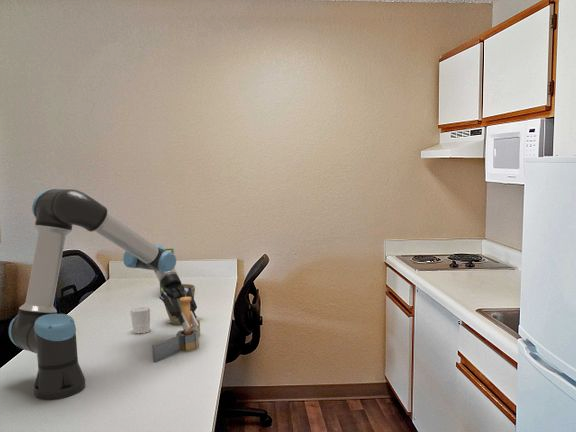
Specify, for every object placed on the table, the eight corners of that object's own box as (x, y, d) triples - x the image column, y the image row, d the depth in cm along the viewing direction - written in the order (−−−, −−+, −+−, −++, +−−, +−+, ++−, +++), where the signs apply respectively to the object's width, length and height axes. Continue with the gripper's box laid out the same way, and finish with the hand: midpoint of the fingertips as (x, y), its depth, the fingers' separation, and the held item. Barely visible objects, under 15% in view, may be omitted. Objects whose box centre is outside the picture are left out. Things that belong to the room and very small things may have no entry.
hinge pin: (180, 343, 204) (178, 299, 203) (184, 339, 209) (181, 296, 207) (192, 343, 204) (189, 299, 202) (195, 339, 208) (192, 296, 207)
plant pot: (197, 325, 235) (194, 289, 234) (162, 328, 233) (159, 292, 231) (197, 316, 250) (195, 282, 248) (164, 319, 247) (162, 285, 246)
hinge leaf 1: (187, 343, 212) (186, 328, 211) (202, 346, 207) (202, 331, 206) (146, 359, 195) (145, 343, 194) (162, 364, 190) (161, 347, 190)
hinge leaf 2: (175, 351, 203) (174, 336, 202) (190, 334, 223) (189, 319, 223) (194, 351, 202) (194, 335, 201) (207, 333, 223) (207, 319, 222)
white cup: (154, 331, 230) (153, 308, 229) (138, 335, 224) (136, 312, 223) (144, 327, 235) (143, 305, 234) (128, 332, 229) (126, 309, 228)
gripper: (183, 280, 221) (207, 328, 210) (147, 287, 211) (170, 338, 200) (189, 269, 217) (213, 317, 205) (152, 276, 206) (176, 327, 195)
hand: (192, 327), depth 203 cm, fingers closed on hinge pin, 3 cm apart
